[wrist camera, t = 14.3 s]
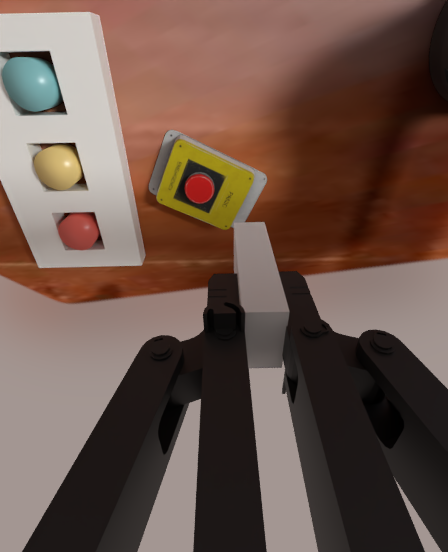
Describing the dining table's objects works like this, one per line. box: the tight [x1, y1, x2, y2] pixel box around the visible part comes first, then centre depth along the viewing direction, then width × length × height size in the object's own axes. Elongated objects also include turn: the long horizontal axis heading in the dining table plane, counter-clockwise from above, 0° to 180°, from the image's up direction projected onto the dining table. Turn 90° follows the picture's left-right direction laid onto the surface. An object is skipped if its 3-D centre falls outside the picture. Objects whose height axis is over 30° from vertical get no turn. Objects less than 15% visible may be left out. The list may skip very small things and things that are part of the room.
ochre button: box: [34, 143, 84, 190], centre depth 40 cm, size 5×5×4 cm
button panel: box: [0, 12, 146, 268], centre depth 40 cm, size 16×30×3 cm, turn 1°
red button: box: [58, 212, 101, 250], centre depth 45 cm, size 5×5×4 cm
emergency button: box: [149, 130, 267, 230], centre depth 42 cm, size 9×4×15 cm
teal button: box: [2, 57, 63, 112], centre depth 34 cm, size 5×5×4 cm
